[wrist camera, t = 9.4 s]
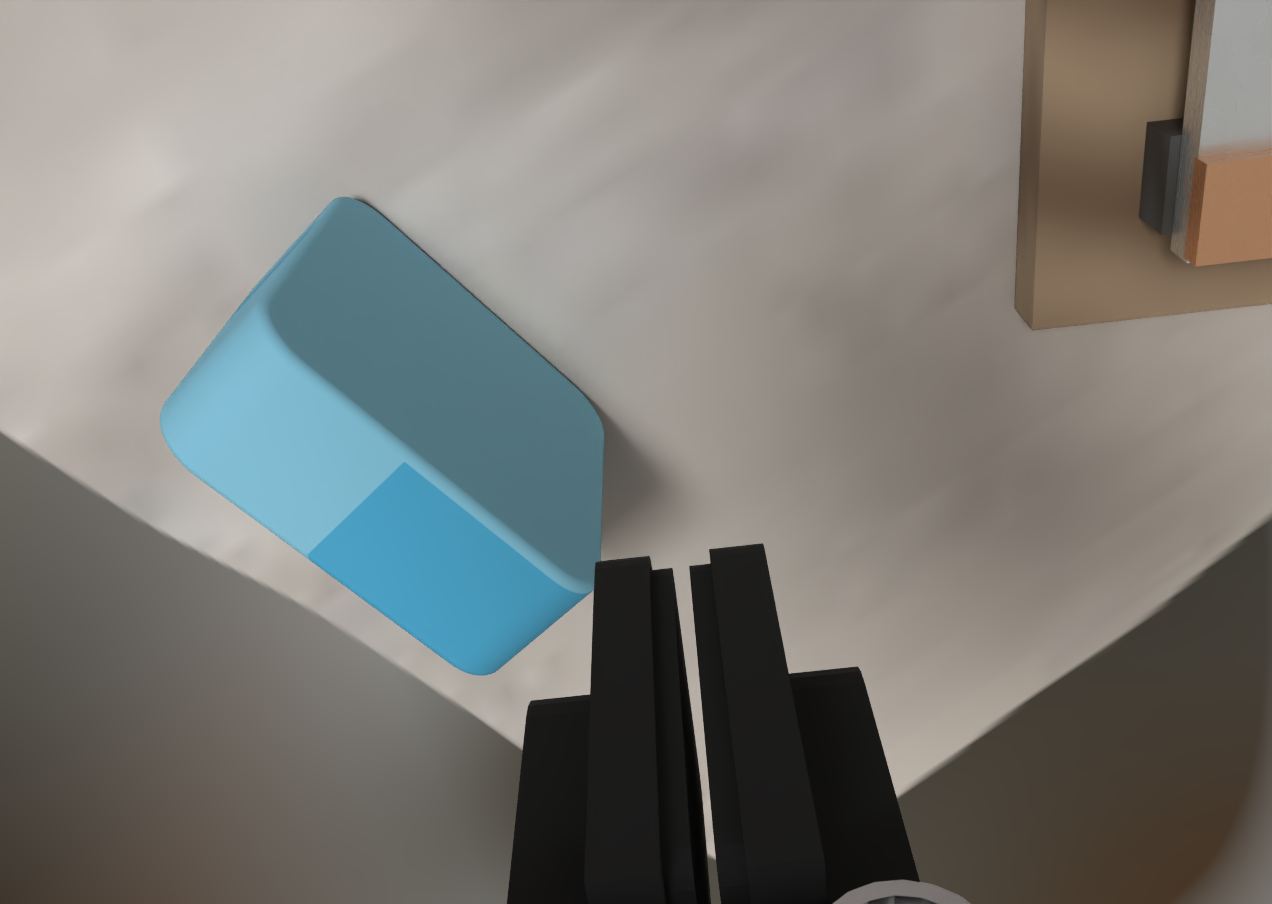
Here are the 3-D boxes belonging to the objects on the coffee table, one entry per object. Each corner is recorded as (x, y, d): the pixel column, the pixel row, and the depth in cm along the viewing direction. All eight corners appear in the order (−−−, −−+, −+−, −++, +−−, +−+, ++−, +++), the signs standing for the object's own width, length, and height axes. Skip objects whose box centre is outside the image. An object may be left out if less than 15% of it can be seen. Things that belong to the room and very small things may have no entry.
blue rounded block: (263, 273, 40) (136, 438, 30) (347, 181, 39) (244, 319, 28) (523, 489, 44) (492, 700, 34) (608, 412, 43) (603, 608, 32)
